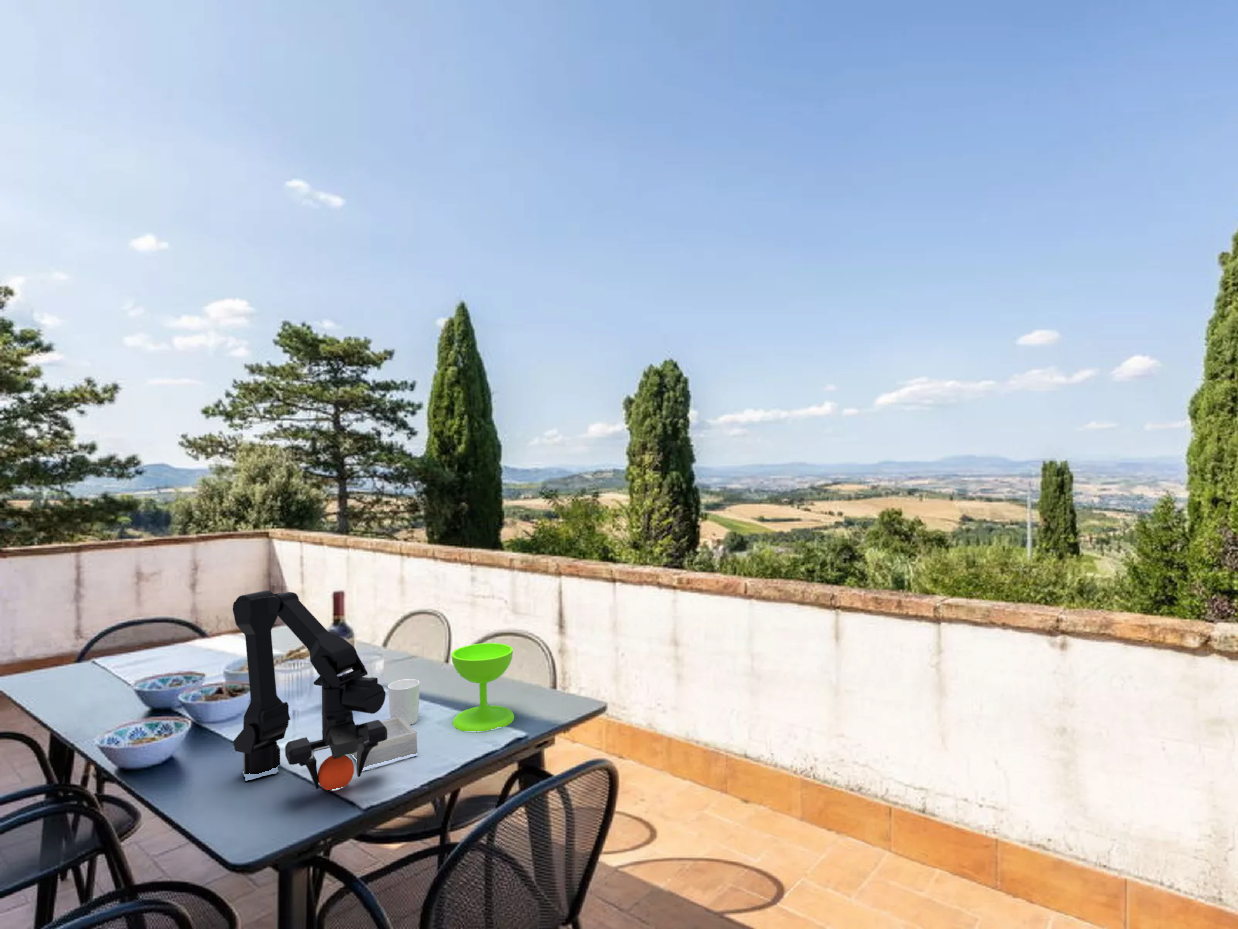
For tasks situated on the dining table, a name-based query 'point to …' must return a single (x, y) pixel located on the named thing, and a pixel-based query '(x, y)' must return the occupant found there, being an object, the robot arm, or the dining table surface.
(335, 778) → the clementine
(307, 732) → the dining table surface
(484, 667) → the wineglass
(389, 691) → the white cup
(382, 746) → the tray
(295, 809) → the dining table surface
